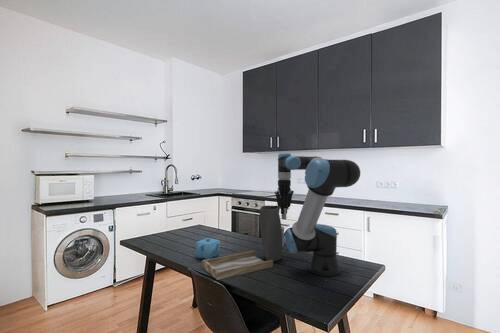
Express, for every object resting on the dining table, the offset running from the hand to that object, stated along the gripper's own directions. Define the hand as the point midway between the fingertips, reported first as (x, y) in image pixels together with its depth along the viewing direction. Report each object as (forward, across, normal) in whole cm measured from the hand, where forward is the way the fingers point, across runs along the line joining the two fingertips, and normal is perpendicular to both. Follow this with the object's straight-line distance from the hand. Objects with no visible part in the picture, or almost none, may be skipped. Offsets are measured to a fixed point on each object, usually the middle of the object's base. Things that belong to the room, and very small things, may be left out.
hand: (283, 219), depth 160 cm
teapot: (+23, +39, -20) cm, 50 cm away
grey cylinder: (+23, -11, -21) cm, 33 cm away
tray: (+22, +31, +1) cm, 38 cm away
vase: (+22, +8, 0) cm, 24 cm away
